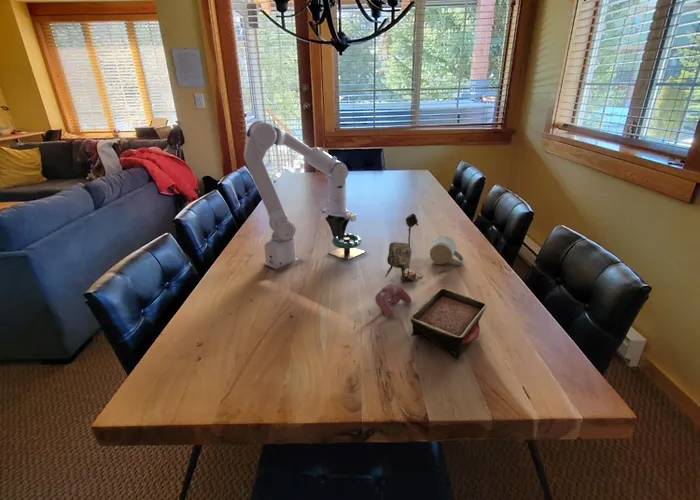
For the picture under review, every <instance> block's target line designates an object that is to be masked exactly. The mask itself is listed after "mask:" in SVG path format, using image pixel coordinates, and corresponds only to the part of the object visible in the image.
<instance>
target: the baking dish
mask: <svg viewBox="0 0 700 500" xmlns="http://www.w3.org/2000/svg"><path fill="white" fill-rule="evenodd" d="M487 308H488V304H487V303H485V302H484V301H482V300H480V299H477V298H475V297H472V296H469V295H467V294H465V293H462V292H458V291H455V290H452V289H449V288H444V287H440V288H439V289H436V291H435V292H434V293H433V294H432V295H431V296H430V297H429V298H428V299H427V300H426V301H424V303H423V304H422V305H421V306H419V307H418V308H417V309H416V310H415V311H414V312H413V313H412V314H411V315H410V323H411V324H412V334H411V335H410V337H411V336H412V337H415V336H416V337H418V336H419V337H420V336H421V337H427V338H428V339H430V340H431V341H432V342H434V344H436V345H437V346H439V347H440V348H442V349H443V351H445V352H447V353H448V354H450V355H451V356H453V358H455V359H457V360H459V359H460V356H461V355H462V353H463V351H464V350H466V348H467V347H468V346H469V345H470V344H471V343H472V342H474V341H475V340H477V339H478V338H479V335H480V331H481V328H480V326H481V325H480V320H481V318H482V316H483V314H484V312H485V311H486V309H487Z"/></svg>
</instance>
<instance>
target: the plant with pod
mask: <svg viewBox="0 0 700 500" xmlns="http://www.w3.org/2000/svg"><path fill="white" fill-rule="evenodd" d="M418 222H419V220H418V218H417V216H416V214H415V213H413V212H412V213H410V214H409V215H407V216H406V217H405V223H406V225H407V227H408V237H407V238H408V243H407V242H399V241H393V242H390V243H389V247H388V254H387V259H386V262H387V264H388V265H389V266H390V267H389V268H388V270H387V271H386V274H385V278H387V277H388V276H389V274H390V273H391V271H392V270H393V268H396V269H400V270H401V275H400V281H399V283H401V284H404V283H406V284H407V283H416V282H419V281H420V280H422V279H423V277H424V276H422V275H419V274H417V273H416V272H415V271H413V270H410V264H411V259H412V252H413V251H412V246H411V228H413V227H415V226H417V227H418V226H419V223H418Z"/></svg>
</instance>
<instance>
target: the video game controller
mask: <svg viewBox="0 0 700 500" xmlns="http://www.w3.org/2000/svg"><path fill="white" fill-rule="evenodd" d="M374 298H375V299H374V301H375V304H376V306H378V307H379V308H380V310H381V312H383V314H384V315H386V316H387V317H388V318H390V319H392V318H394V317H395V312H394V310H393V305H398V304H399V303H400V300H402V301H403V302H404V303H406V304H407V305H410V304H411V303H412V301H413V300H412V297H411V295H410V294H409V293H408V292H407V291H406V290H405V289H404V287H403V286H402V285H400V284H399V283H395V282H393V283H390V284H386V285H385V286H383V287H382V288H381V289H380V290H379V292H378V293H376V294H375V297H374ZM399 299H400V300H399Z"/></svg>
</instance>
